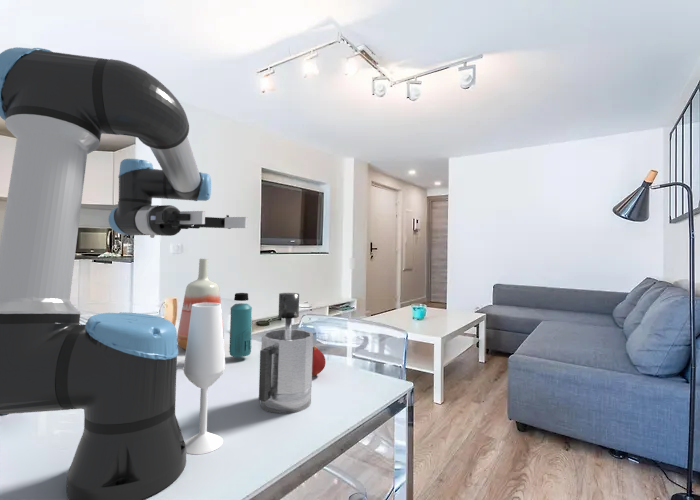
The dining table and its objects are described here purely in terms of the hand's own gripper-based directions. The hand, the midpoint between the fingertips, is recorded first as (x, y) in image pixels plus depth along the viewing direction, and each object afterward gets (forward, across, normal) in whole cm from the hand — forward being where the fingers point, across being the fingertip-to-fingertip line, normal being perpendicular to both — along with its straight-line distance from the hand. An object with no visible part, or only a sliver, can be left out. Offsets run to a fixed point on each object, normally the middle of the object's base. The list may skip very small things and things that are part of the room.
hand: (226, 220), depth 84 cm
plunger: (+15, -4, -35) cm, 39 cm away
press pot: (+15, -2, -40) cm, 43 cm away
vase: (-34, -27, -40) cm, 59 cm away
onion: (+12, -22, -40) cm, 47 cm away
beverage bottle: (-15, -24, -40) cm, 49 cm away
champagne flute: (+12, +17, -40) cm, 45 cm away
